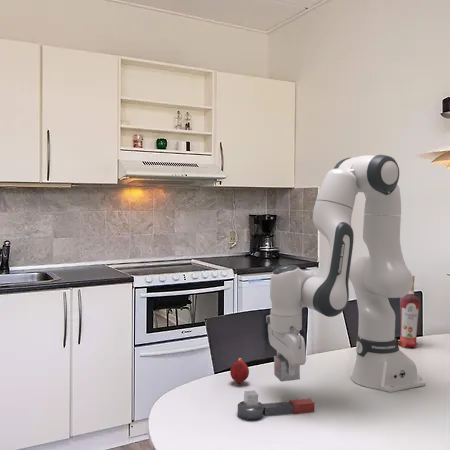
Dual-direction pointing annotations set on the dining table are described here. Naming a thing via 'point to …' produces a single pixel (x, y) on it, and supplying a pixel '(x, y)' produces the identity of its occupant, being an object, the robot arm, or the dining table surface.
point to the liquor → (409, 318)
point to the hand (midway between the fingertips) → (286, 370)
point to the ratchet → (270, 407)
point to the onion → (239, 371)
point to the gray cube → (284, 369)
